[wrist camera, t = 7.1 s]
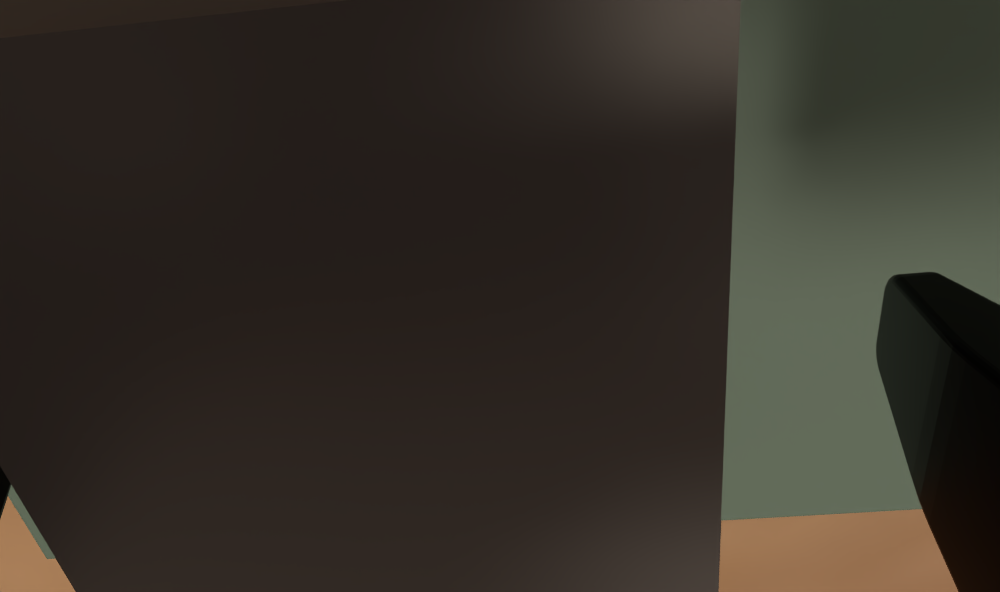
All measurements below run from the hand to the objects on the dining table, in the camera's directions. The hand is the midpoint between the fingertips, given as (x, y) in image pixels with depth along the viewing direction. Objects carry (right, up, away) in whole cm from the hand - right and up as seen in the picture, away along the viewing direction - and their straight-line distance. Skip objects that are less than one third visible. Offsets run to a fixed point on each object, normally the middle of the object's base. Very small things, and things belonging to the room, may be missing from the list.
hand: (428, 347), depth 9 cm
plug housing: (0, +1, +2) cm, 3 cm away
